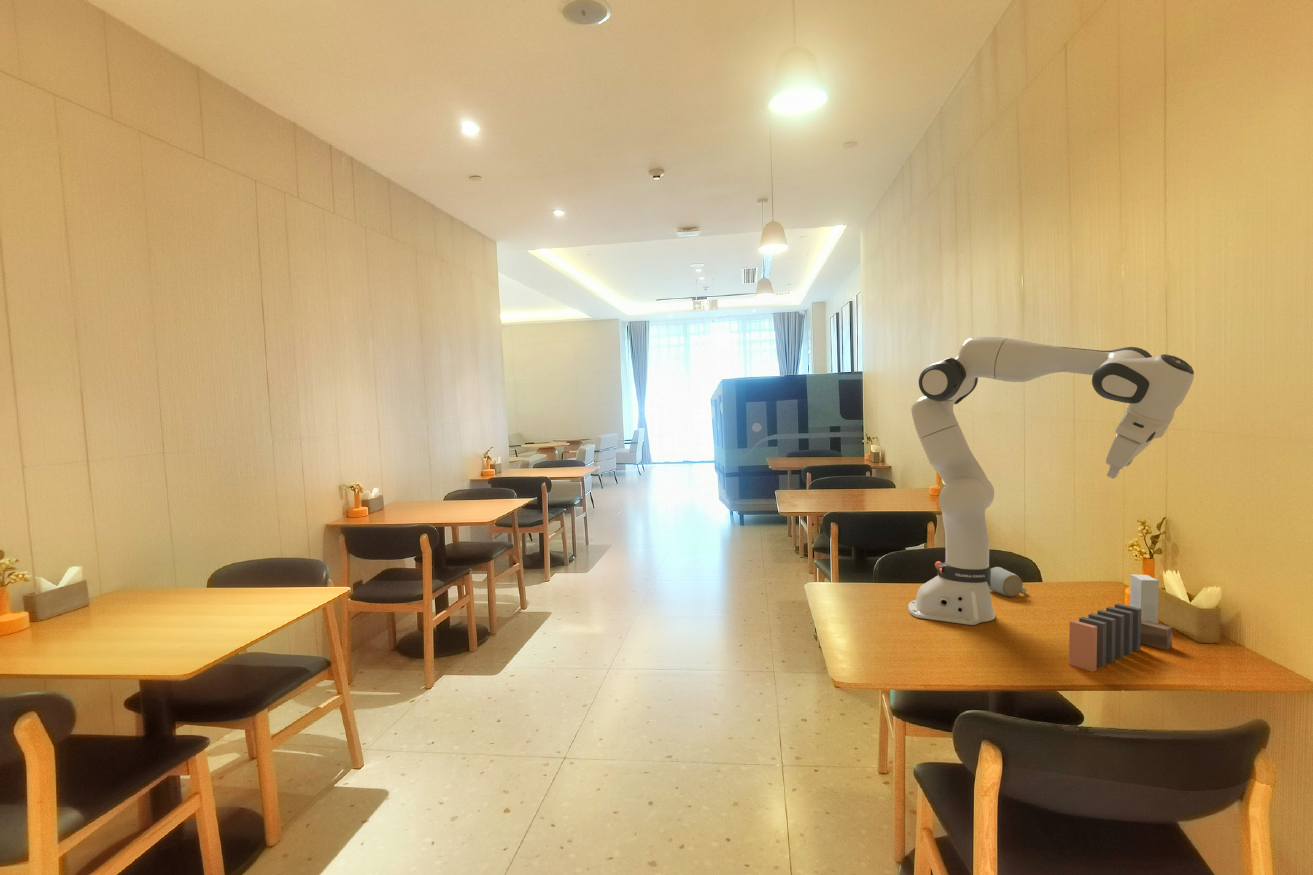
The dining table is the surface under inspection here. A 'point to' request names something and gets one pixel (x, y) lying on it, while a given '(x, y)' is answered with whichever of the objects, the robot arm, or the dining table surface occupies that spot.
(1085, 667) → the domino
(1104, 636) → the domino
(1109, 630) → the domino
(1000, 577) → the ceramic mug
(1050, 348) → the robot arm
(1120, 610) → the domino
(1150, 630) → the end stop
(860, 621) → the dining table surface
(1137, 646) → the domino
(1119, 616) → the domino
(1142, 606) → the skincare box
